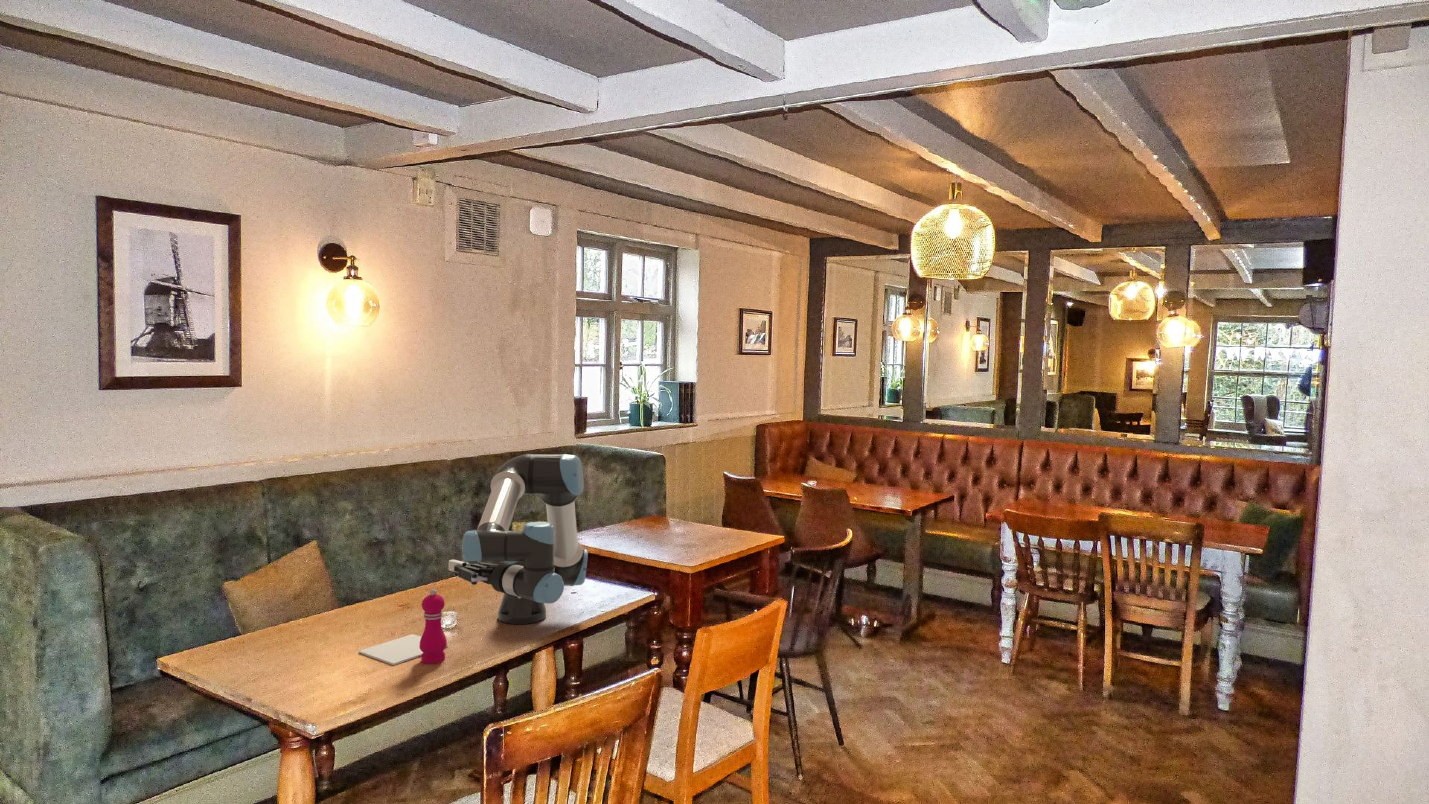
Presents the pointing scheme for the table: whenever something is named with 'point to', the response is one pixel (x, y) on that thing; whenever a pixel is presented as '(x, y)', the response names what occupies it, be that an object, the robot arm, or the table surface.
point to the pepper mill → (433, 630)
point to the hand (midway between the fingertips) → (450, 565)
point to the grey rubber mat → (396, 650)
